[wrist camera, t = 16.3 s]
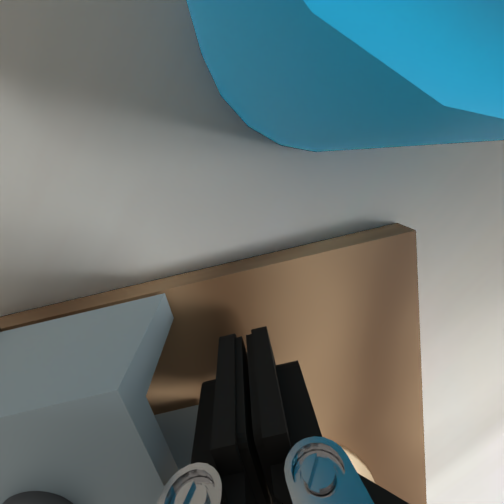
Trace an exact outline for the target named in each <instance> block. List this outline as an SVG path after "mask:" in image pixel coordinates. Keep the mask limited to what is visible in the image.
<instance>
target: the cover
mask: <svg viewBox="0 0 504 504" xmlns="http://www.w3.org/2000/svg"><path fill="white" fill-rule="evenodd" d="M173 319H174V317H173V314H172V312H171V309H170V306H169V303H168V301H167V298H166V295H165V293H163V294H159V295H155V296H151V297H147V298H142V299H138V300H134V301H130V302H125V303H121V304H117V305H113V306H108V307H104V308H100V309H96V310H92V311H87V312H83V313H79V314H75V315H70V316H66V317H62V318H58V319H53V320H49V321H45V322H41V323H37V324H32V325H28V326H24V327H20V328H15V329H11V330H7V331H3V332H0V504H157V502H158V499H159V497H160V495H161V493H162V490H163V488H164V487H165V485H166V484H167V482H168V481H169V480H170V478H171V477H172V476H173V475H174V474H176V473H177V472H178V471H179V470H180V469H182V468H184V467H186V466H187V465H189V464H190V463H191V456H192V449H193V442H194V435H195V428H196V420H197V413H198V406H199V405H195V406H191V407H187V408H182V409H178V410H174V411H169V412H165V413H161V414H157V415H154V414H153V411H152V409H151V407H150V405H149V402H148V400H147V398H146V394H147V392H148V389H149V386H150V383H151V380H152V378H153V375H154V372H155V369H156V366H157V364H158V361H159V358H160V355H161V352H162V350H163V347H164V344H165V341H166V338H167V336H168V333H169V330H170V327H171V324H172V322H173Z"/></svg>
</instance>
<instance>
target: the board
mask: <svg viewBox="0 0 504 504" xmlns="http://www.w3.org/2000/svg"><path fill="white" fill-rule="evenodd" d="M163 293H165V295H166V298H167V301H168V303H169V306H170V309H171V312H172V314H173V317H174V319H173V322H172V324H171V327H170V330H169V333H168V336H167V338H166V341H165V344H164V347H163V350H162V352H161V355H160V358H159V361H158V364H157V366H156V369H155V372H154V375H153V378H152V380H151V383H150V386H149V389H148V392H147V394H146V398H147V400H148V402H149V405H150V407H151V409H152V411H153V414H154V415H157V414H161V413H165V412H169V411H174V410H178V409H182V408H187V407H191V406H195V405H199V399H200V392H201V386H202V383H203V382H205V381H210V380H214V379H216V370H217V357H218V345H219V337H221V336H226V335H230V334H234V333H235V334H236V336H237V337H240V336H242V338H243V341H244V344H245V348H246V351H247V344H246V335H249V334H251V329H256V328H260V327H264V326H267V330H268V334H269V338H270V342H271V346H272V351H273V355H274V359H275V363H276V365H279V364H284V363H288V362H292V361H297V360H298V362H299V365H300V368H301V371H302V374H303V378H304V381H305V384H306V387H307V390H308V393H309V396H310V400H311V403H312V406H313V409H314V412H315V415H316V418H317V422H318V425H319V428H320V431H321V434H322V437H325V438H327V439H330V440H332V441H334V442H335V443H337V444H338V445H339V446H341V447H342V449H343V450H344V451H345V453H346V454H347V455H348V457H349V459H350V461H351V462H352V464H353V466H354V468H355V470H356V471H357V473H359V474H360V475H362V476H364V477H365V478H367V479H369V480H370V481H372V482H374V483H375V484H377V485H379V486H381V487H382V488H384V489H386V490H387V491H389V492H391V493H392V494H394V495H396V496H397V497H399V498H401V499H402V500H404V501H406V502H407V503H409V504H426V478H425V453H424V427H423V402H422V376H421V351H420V325H419V300H418V274H417V249H416V230H413V229H411V228H408V227H406V226H403V225H401V224H398V223H395V224H391V225H386V226H382V227H378V228H374V229H370V230H365V231H361V232H357V233H353V234H348V235H344V236H340V237H336V238H332V239H327V240H323V241H319V242H315V243H310V244H306V245H302V246H298V247H294V248H289V249H285V250H281V251H277V252H272V253H268V254H264V255H260V256H255V257H251V258H247V259H243V260H239V261H234V262H230V263H226V264H222V265H217V266H213V267H209V268H205V269H201V270H196V271H192V272H188V273H184V274H179V275H175V276H171V277H167V278H163V279H158V280H154V281H150V282H146V283H141V284H137V285H133V286H129V287H125V288H120V289H116V290H112V291H108V292H103V293H99V294H95V295H91V296H86V297H82V298H78V299H74V300H70V301H65V302H61V303H57V304H53V305H48V306H44V307H40V308H36V309H32V310H27V311H23V312H19V313H15V314H10V315H6V316H2V317H0V332H3V331H7V330H11V329H15V328H20V327H24V326H28V325H32V324H37V323H41V322H45V321H49V320H53V319H58V318H62V317H66V316H70V315H75V314H79V313H83V312H87V311H92V310H96V309H100V308H104V307H108V306H113V305H117V304H121V303H125V302H130V301H134V300H138V299H142V298H147V297H151V296H155V295H159V294H163Z"/></svg>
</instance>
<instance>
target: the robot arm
mask: <svg viewBox="0 0 504 504" xmlns="http://www.w3.org/2000/svg"><path fill="white" fill-rule="evenodd" d="M246 344H247V351H246V348H245V344H244V341H243V338H242V336H240V337H237V336H236V334H235V333H234V334H230V335H226V336H221V337H219V345H218V357H217V370H216V379H214V380H210V381H205V382H203V383H202V386H201V392H200V399H199V406H198V413H197V420H196V428H195V435H194V442H193V449H192V456H191V463H190V464H189V465H187V466H186V467H184V468H182V469H180V470H179V471H178V472H177V473H176V474H174V475H173V476H172V477H171V478H170V480H169V481H168V482H167V484H166V485H165V487H164V488H163V490H162V493H161V495H160V497H159V499H158V502H157V504H272V501H273V504H409V503H407V502H406V501H404V500H402V499H401V498H399V497H397V496H396V495H394V494H392V493H391V492H389V491H387V490H386V489H384V488H382V487H381V486H379V485H377V484H375V483H374V482H372V481H370V480H369V479H367V478H365V477H364V476H362V475H360V474H359V473H357V471H356V470H355V468H354V466H353V464H352V462H351V461H350V459H349V457H348V455H347V454H346V453H345V451H344V450H343V449H342V447H341V446H339V445H338V444H337V443H335V442H334V441H332V440H330V439H327V438H325V437H322V434H321V431H320V428H319V425H318V422H317V418H316V415H315V412H314V409H313V406H312V403H311V400H310V396H309V393H308V390H307V387H306V384H305V381H304V378H303V374H302V371H301V368H300V365H299V362H298V360H297V361H292V362H288V363H284V364H279V365H276V363H275V359H274V355H273V351H272V346H271V342H270V338H269V334H268V330H267V326H264V327H260V328H256V329H251V334H249V335H246ZM271 498H272V501H271Z"/></svg>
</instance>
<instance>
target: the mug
mask: <svg viewBox="0 0 504 504" xmlns="http://www.w3.org/2000/svg"><path fill="white" fill-rule="evenodd" d="M186 1H187V5H188V8H189V12H190V15H191V19H192V22H193V26H194V29H195V32H196V36H197V39H198V43H199V46H200V50H201V53H202V56H203V58H204V60H205V63H206V65H207V67H208V69H209V71H210V73H211V75H212V77H213V80H214V82H215V84H216V86H217V88H218V90H219V92H220V95H221V96H222V97H223V99H224V100H225V101H226V102H227V103H228V104H229V105H230V106H231V108H232V109H233V110H234V111H235V112H236V113H237V114H238V115H239V117H240V118H241V119H242V120H243V121H244V122H245V123H246V124H247V126H248V127H250V128H252V129H254V130H255V131H257V132H259V133H260V134H262V135H264V136H266V137H267V138H269V139H271V140H273V141H274V142H276V143H278V144H279V145H282V146H287V147H293V148H298V149H303V150H308V151H314V152H322V151H337V150H353V149H369V148H385V147H401V146H417V145H433V144H449V143H464V142H480V141H496V140H504V0H186Z"/></svg>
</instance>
